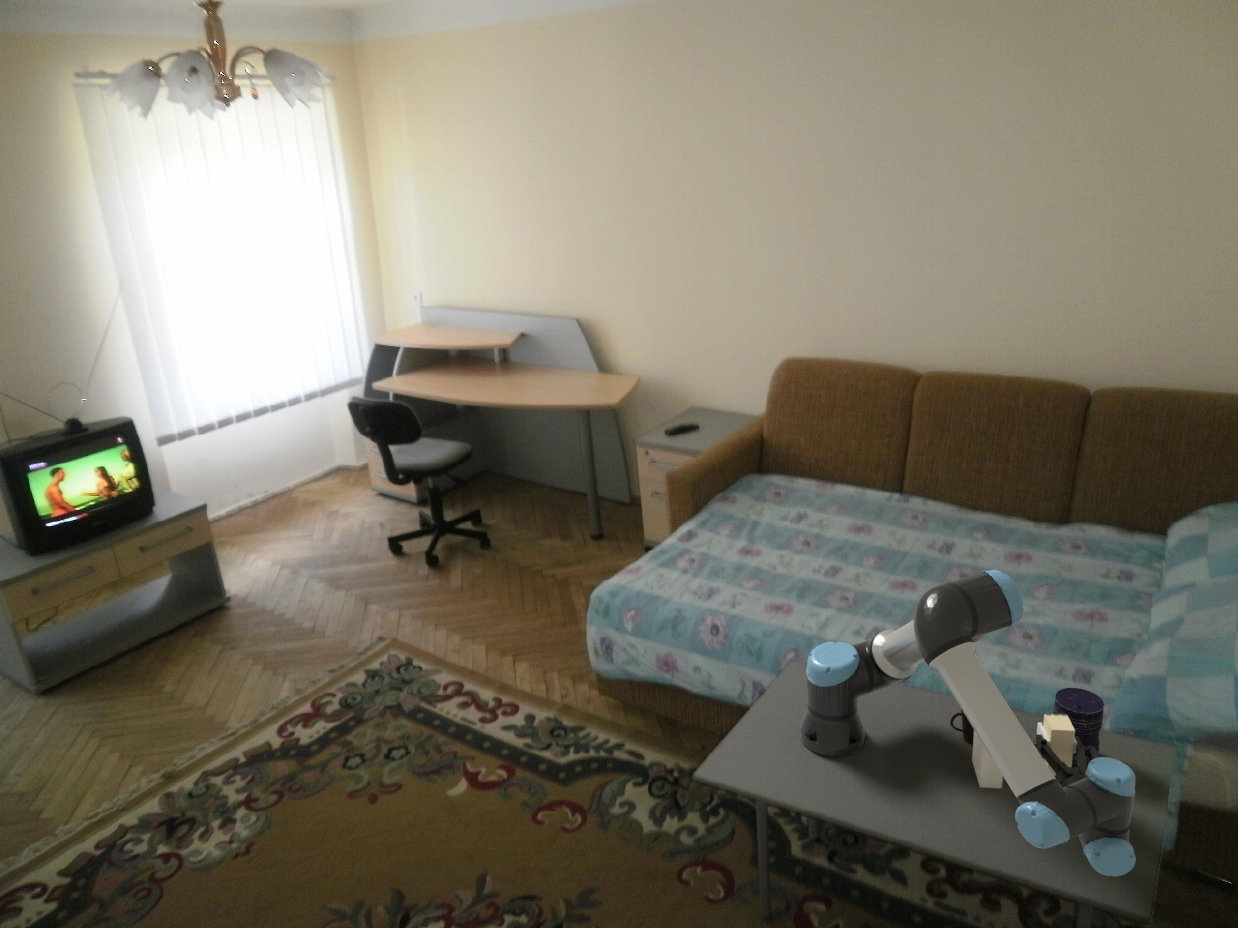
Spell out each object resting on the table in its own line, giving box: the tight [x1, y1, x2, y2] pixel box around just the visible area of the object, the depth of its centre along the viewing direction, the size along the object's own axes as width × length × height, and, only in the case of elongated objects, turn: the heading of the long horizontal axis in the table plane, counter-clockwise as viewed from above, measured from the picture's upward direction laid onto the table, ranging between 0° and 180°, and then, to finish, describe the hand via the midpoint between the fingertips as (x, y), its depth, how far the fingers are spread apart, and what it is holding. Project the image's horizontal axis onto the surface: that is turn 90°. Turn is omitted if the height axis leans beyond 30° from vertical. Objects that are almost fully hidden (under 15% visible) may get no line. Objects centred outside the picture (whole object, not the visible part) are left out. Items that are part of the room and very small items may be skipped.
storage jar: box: [1052, 687, 1105, 768], centre depth 199 cm, size 10×10×15 cm
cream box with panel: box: [971, 730, 1004, 789], centre depth 196 cm, size 4×9×11 cm, turn 170°
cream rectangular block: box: [1042, 713, 1075, 775], centre depth 187 cm, size 4×6×11 cm
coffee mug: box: [949, 708, 974, 746], centre depth 209 cm, size 12×9×10 cm
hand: (1052, 728), depth 190 cm, fingers closed on cream rectangular block, 4 cm apart
